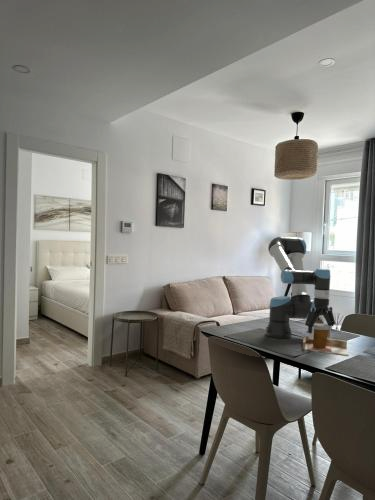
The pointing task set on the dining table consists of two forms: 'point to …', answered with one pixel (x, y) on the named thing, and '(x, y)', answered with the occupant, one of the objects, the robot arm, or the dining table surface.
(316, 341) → the cup of beer
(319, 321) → the cupcake
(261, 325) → the dining table surface
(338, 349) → the brown beige flat box
